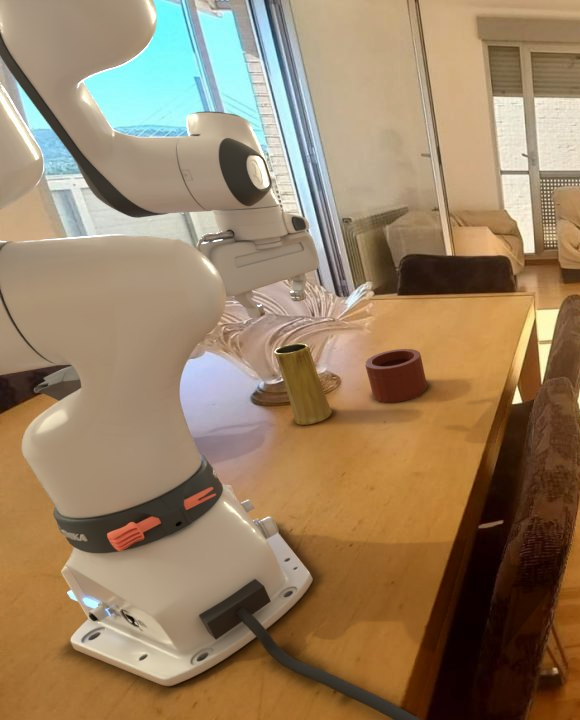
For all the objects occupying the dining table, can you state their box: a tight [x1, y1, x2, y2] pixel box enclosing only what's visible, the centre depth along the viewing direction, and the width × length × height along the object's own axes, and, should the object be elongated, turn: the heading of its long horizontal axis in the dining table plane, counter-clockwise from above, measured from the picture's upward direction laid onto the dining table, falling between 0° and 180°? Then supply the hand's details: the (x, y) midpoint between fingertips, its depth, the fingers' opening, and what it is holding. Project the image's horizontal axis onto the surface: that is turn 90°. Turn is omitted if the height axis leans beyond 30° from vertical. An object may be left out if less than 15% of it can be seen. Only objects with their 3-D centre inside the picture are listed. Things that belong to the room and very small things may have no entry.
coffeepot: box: [33, 365, 81, 402], centre depth 80 cm, size 15×9×18 cm, turn 171°
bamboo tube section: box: [273, 342, 333, 426], centre depth 88 cm, size 6×6×14 cm
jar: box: [364, 348, 428, 404], centre depth 98 cm, size 10×10×8 cm
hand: (279, 308), depth 82 cm, fingers open, 8 cm apart
